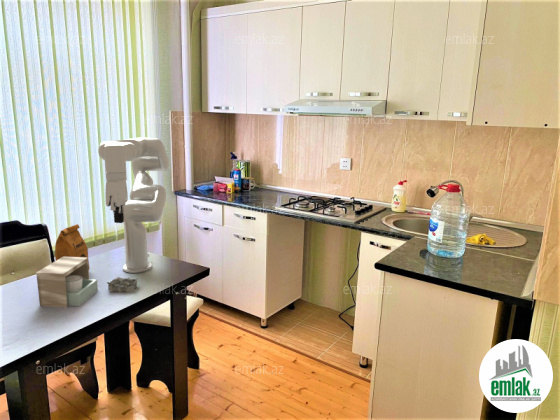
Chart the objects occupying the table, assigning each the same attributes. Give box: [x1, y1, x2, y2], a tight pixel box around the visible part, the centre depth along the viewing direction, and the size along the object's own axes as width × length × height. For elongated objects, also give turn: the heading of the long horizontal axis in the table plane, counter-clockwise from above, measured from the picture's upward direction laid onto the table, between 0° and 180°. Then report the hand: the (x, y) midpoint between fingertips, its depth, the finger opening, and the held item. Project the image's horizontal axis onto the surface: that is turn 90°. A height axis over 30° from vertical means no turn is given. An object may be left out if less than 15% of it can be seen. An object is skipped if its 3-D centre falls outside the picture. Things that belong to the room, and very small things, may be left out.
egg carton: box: [106, 276, 139, 293], centre depth 166 cm, size 11×8×4 cm
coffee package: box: [54, 223, 90, 270], centre depth 175 cm, size 10×12×22 cm
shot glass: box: [65, 275, 82, 293], centre depth 157 cm, size 7×7×7 cm
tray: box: [66, 278, 99, 307], centre depth 157 cm, size 14×12×4 cm
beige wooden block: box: [35, 257, 91, 308], centre depth 156 cm, size 17×10×13 cm, turn 177°
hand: (119, 222), depth 162 cm, fingers closed
